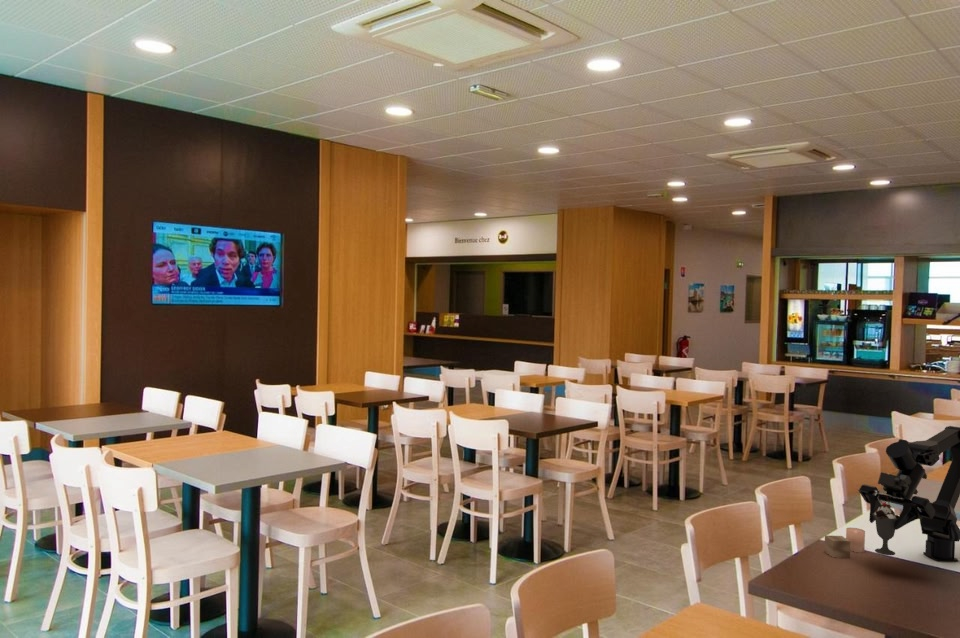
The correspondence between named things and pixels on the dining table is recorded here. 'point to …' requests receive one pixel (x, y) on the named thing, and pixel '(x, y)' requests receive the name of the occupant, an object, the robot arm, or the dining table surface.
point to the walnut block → (837, 546)
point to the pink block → (856, 539)
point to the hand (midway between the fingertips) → (882, 525)
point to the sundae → (885, 526)
